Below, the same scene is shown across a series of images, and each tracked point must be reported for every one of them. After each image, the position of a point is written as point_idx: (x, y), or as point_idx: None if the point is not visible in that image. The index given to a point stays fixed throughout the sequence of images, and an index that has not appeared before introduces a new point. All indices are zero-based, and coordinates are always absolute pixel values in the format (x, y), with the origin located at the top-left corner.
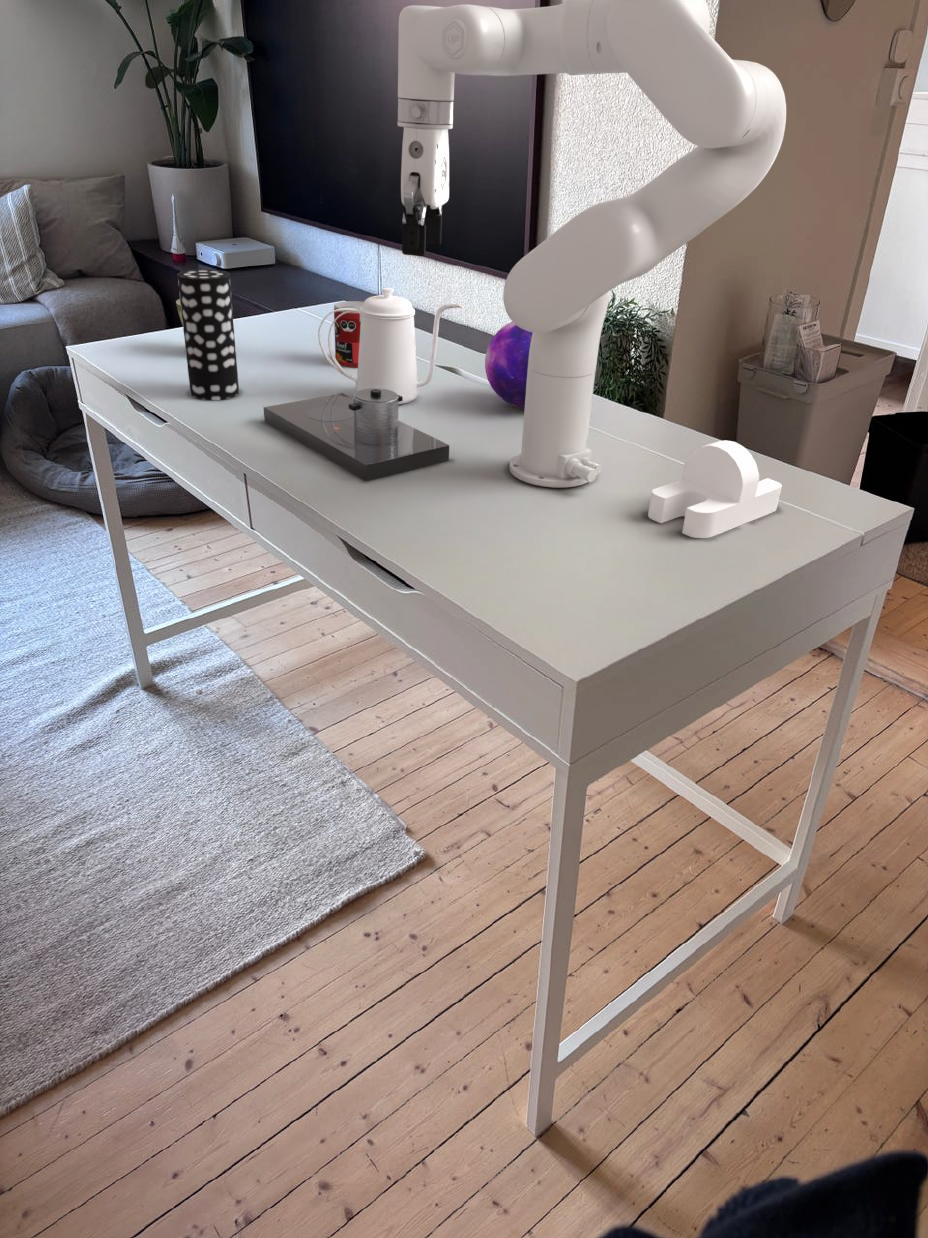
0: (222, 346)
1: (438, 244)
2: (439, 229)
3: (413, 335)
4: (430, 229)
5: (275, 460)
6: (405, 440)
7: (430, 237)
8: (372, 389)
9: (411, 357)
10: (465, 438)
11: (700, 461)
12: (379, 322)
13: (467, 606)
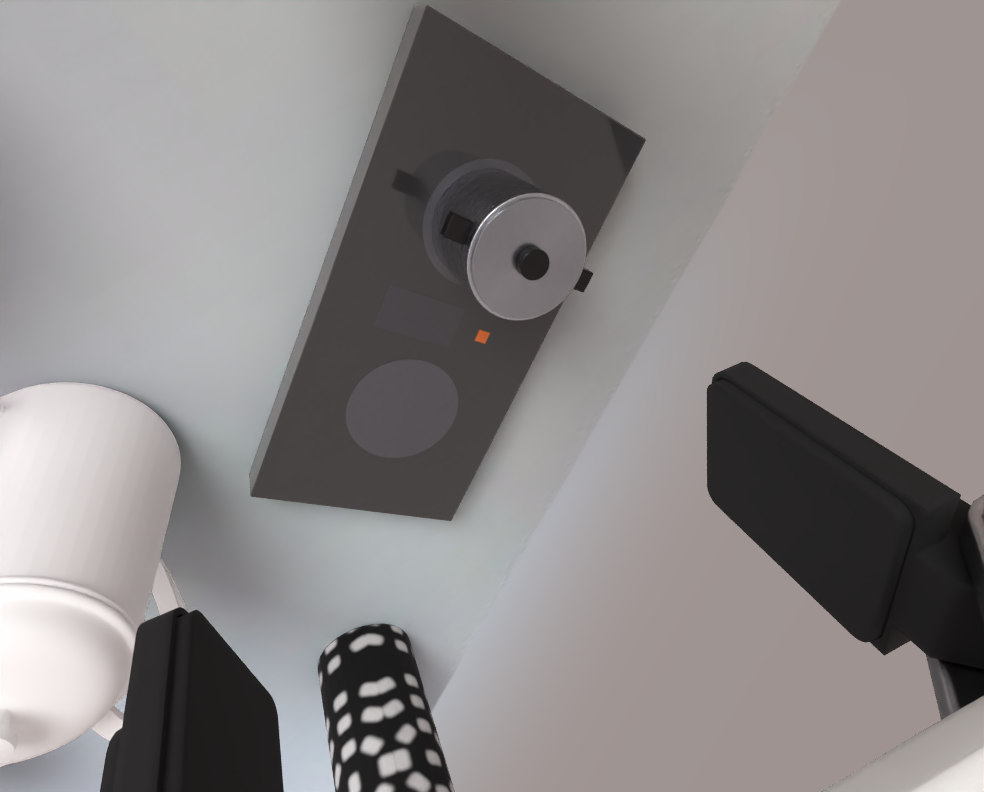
0: (402, 717)
1: (182, 611)
2: (186, 735)
3: None
4: (235, 776)
5: (597, 350)
6: (464, 148)
7: (237, 699)
8: (494, 298)
9: (17, 465)
10: (206, 53)
11: None
12: (127, 602)
13: None
